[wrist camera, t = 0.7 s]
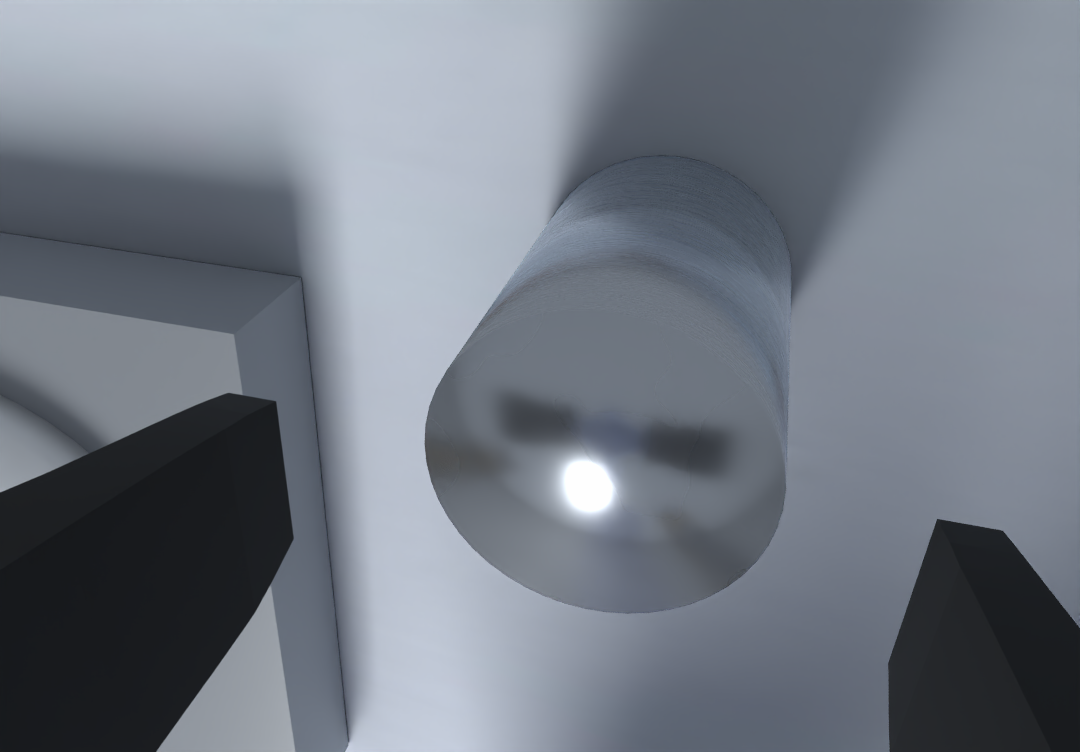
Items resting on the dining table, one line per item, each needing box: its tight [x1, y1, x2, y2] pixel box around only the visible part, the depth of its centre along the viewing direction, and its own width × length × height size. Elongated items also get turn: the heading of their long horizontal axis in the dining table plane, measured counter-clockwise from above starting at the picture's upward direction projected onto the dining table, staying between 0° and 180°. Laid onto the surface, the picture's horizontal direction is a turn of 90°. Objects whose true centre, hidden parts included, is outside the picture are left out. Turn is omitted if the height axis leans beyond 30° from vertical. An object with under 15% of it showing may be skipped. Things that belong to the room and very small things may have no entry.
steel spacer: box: [425, 156, 791, 613], centre depth 13 cm, size 4×4×6 cm
